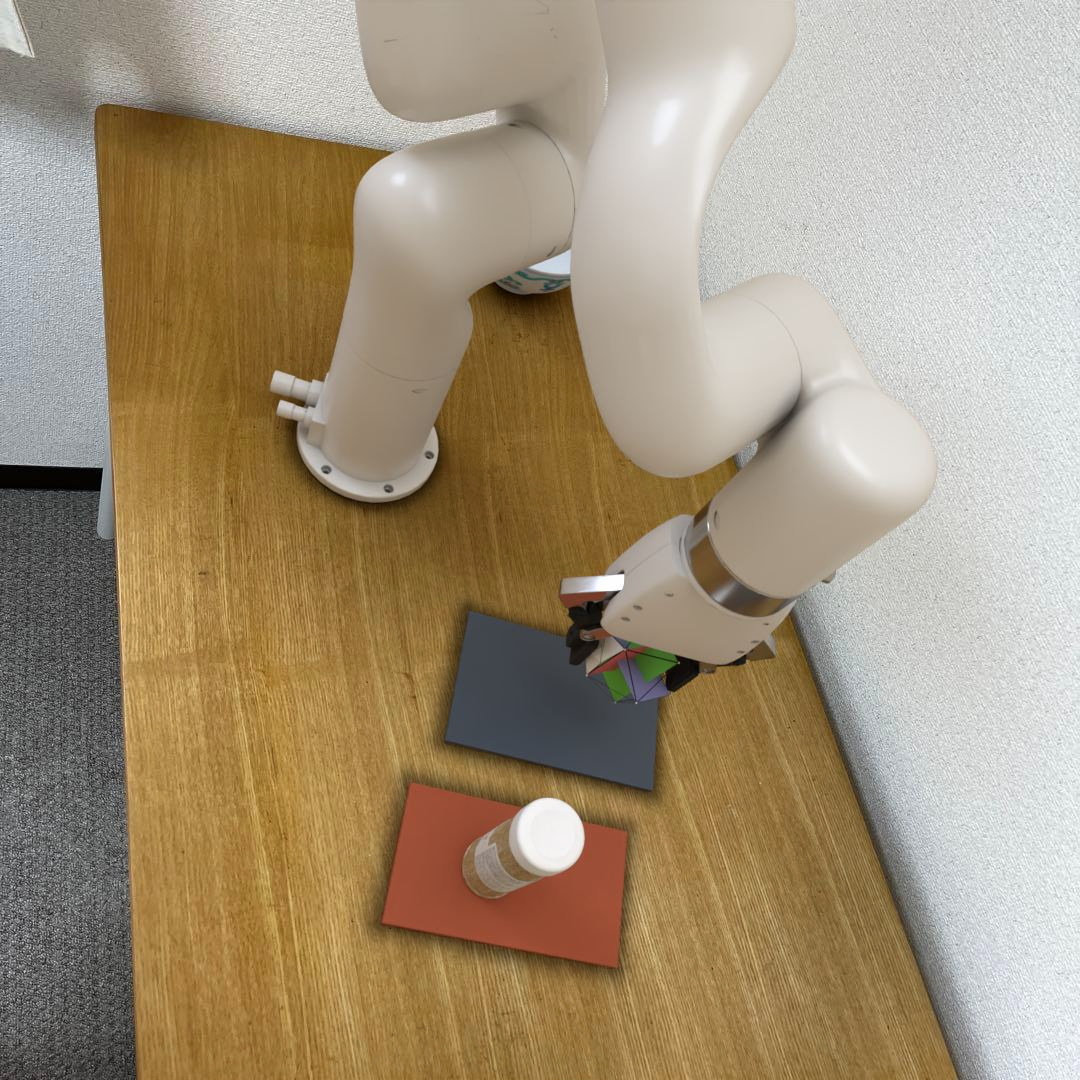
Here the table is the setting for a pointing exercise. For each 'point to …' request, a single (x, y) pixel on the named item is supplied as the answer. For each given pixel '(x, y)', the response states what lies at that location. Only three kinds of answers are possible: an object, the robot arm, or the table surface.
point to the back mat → (546, 707)
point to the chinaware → (540, 276)
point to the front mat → (519, 916)
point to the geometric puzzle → (631, 669)
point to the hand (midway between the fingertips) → (623, 659)
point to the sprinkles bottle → (524, 849)
